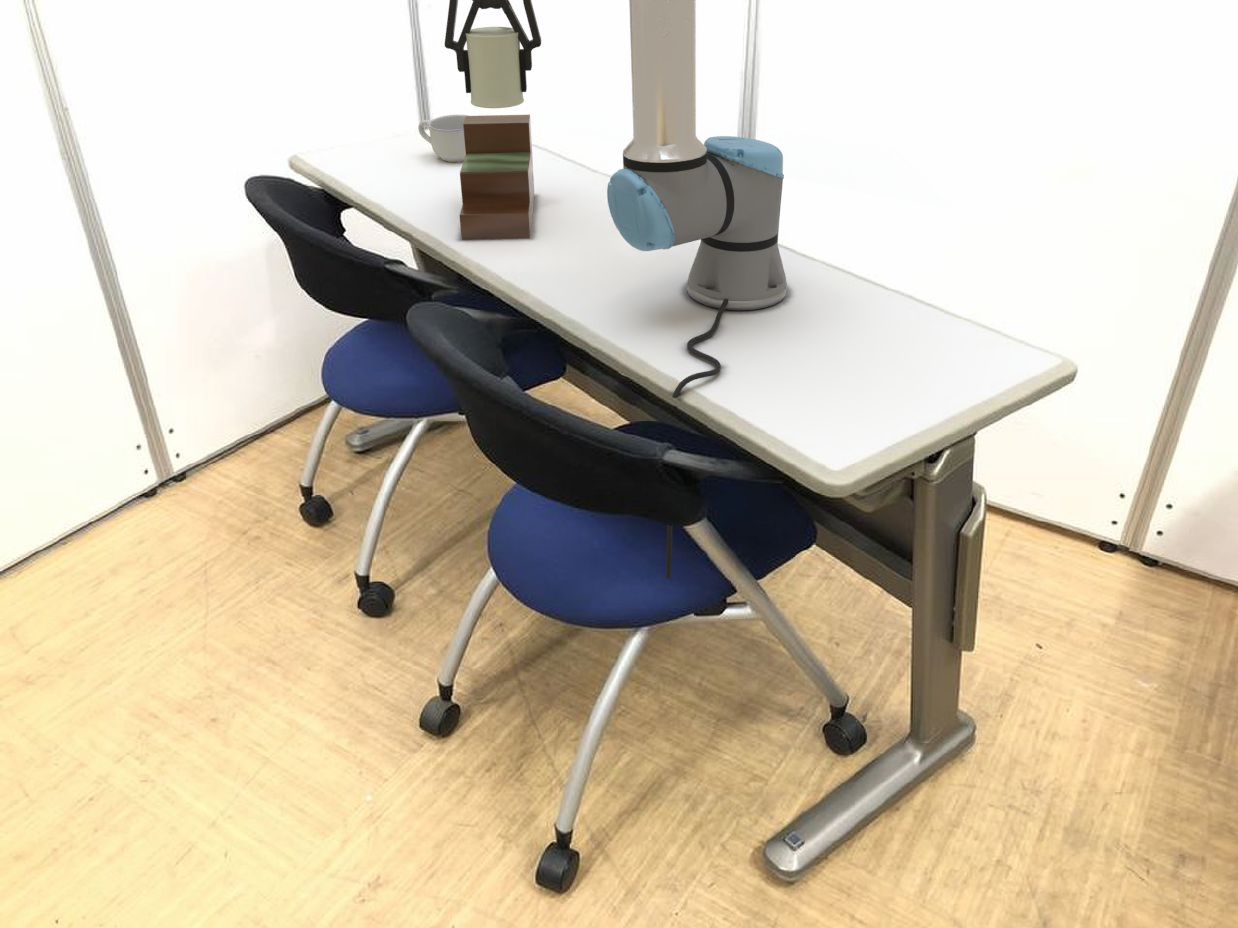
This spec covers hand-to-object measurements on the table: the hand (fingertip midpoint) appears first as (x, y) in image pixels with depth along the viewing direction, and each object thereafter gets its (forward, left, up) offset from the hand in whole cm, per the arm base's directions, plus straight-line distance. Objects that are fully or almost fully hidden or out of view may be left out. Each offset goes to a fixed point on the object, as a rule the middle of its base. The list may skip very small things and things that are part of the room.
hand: (496, 90), depth 181 cm
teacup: (+41, +14, -23) cm, 49 cm away
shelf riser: (+1, +1, -23) cm, 23 cm away
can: (0, 0, -2) cm, 2 cm away
